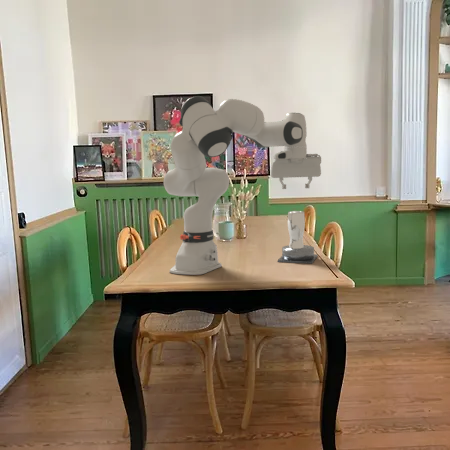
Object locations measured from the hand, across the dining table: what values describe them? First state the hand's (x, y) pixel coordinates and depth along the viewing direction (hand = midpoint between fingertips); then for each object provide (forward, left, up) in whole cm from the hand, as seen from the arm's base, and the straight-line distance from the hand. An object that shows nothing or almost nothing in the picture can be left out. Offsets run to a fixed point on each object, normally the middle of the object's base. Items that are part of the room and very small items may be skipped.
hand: (295, 188), depth 198 cm
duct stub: (0, -1, -29) cm, 29 cm away
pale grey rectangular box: (-1, 0, -25) cm, 25 cm away
